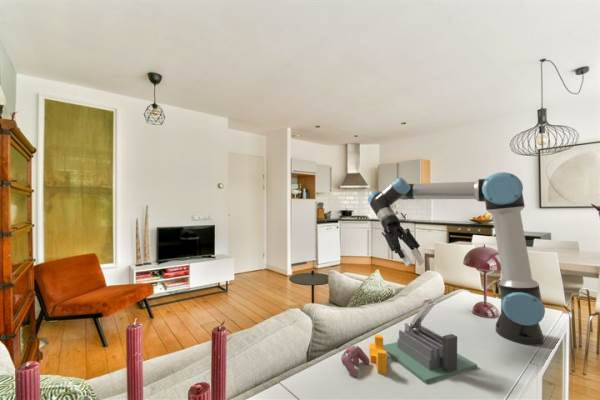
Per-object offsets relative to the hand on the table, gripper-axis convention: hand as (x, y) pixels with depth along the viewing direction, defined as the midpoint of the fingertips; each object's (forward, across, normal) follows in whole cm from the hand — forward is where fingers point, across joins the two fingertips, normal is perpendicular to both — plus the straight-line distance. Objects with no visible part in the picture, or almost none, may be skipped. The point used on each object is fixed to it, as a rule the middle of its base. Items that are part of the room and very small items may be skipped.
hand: (415, 263), depth 111 cm
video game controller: (+27, +34, -13) cm, 45 cm away
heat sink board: (+30, +8, -11) cm, 32 cm away
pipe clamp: (+27, +25, -13) cm, 40 cm away
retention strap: (+19, +8, -3) cm, 21 cm away
